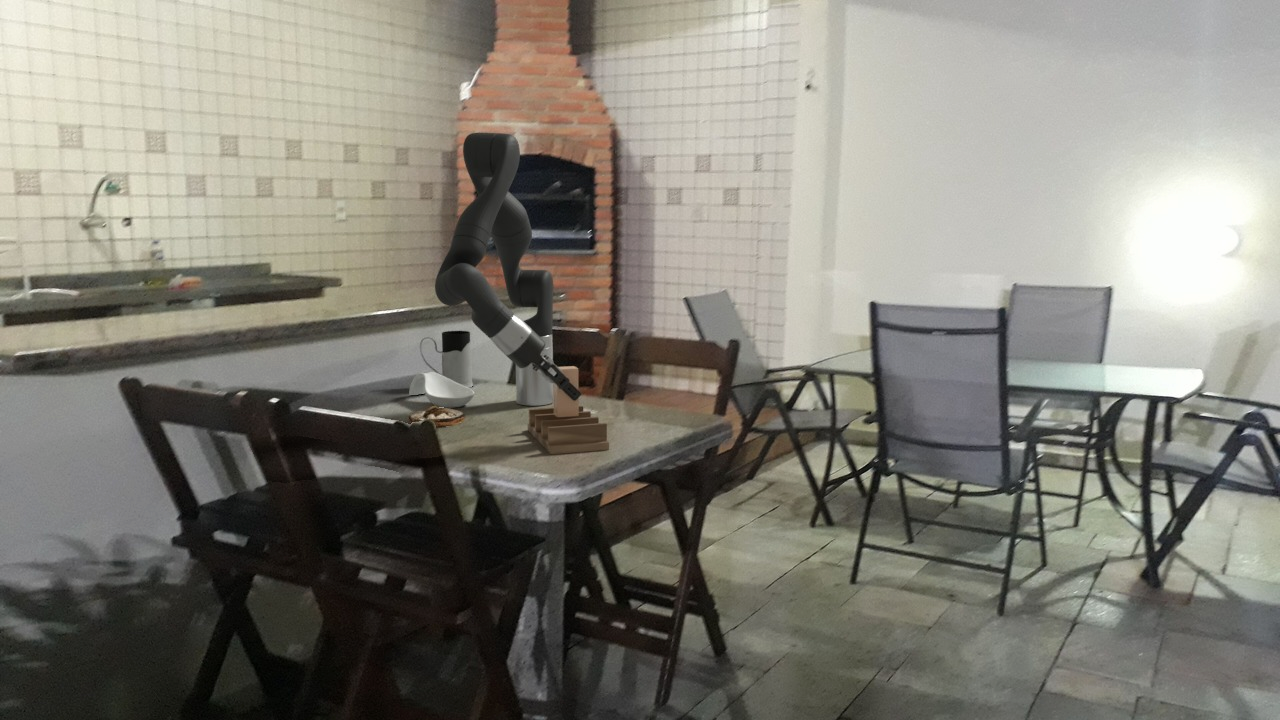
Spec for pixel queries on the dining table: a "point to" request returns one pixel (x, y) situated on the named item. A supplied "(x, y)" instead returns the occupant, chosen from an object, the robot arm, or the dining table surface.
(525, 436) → the dining table surface
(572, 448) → the walnut rack
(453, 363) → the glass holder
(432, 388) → the spoon rest
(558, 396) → the clay block
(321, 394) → the dining table surface
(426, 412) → the pie
